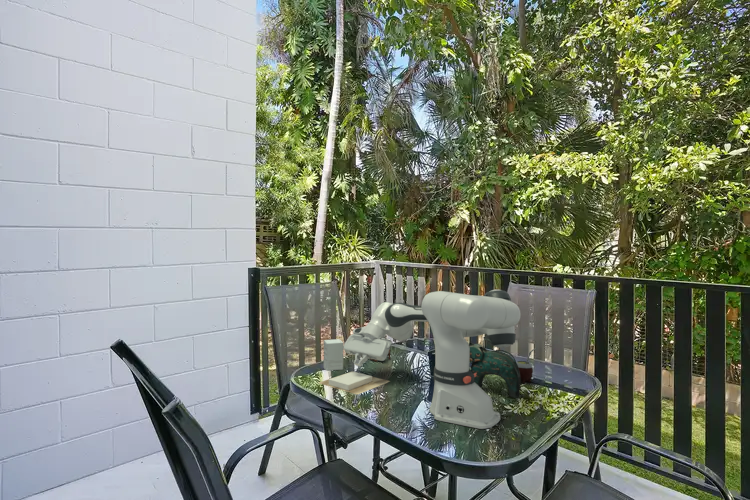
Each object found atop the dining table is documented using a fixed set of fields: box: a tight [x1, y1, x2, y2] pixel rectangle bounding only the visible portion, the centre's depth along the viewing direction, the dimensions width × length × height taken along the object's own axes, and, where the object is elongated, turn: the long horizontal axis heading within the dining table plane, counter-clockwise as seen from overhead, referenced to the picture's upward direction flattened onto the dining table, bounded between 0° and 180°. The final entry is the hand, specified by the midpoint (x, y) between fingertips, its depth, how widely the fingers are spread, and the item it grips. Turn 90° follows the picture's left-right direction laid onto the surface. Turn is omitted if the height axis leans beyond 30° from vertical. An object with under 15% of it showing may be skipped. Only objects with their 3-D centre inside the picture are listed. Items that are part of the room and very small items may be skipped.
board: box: [318, 371, 391, 395], centre depth 165 cm, size 20×20×1 cm
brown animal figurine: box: [369, 348, 391, 363], centre depth 202 cm, size 12×10×8 cm
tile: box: [329, 371, 373, 391], centre depth 163 cm, size 10×2×14 cm
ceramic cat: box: [468, 338, 522, 399], centre depth 159 cm, size 20×6×20 cm, turn 53°
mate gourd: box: [516, 347, 537, 385], centre depth 171 cm, size 8×8×15 cm
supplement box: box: [323, 338, 345, 372], centre depth 185 cm, size 7×7×13 cm
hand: (357, 364), depth 166 cm, fingers closed
